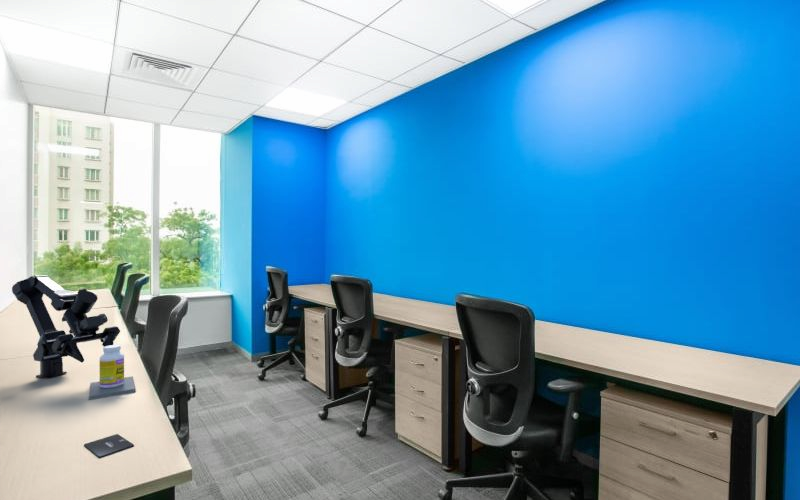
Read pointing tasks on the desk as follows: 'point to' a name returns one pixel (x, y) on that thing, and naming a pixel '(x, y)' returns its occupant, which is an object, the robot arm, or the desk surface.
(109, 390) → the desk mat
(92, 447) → the solid state drive
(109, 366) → the supplement bottle
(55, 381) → the desk surface
